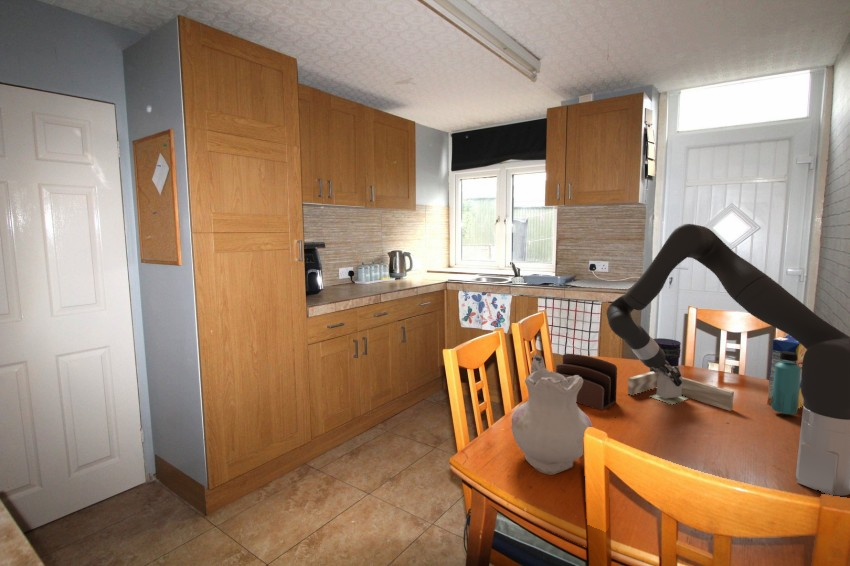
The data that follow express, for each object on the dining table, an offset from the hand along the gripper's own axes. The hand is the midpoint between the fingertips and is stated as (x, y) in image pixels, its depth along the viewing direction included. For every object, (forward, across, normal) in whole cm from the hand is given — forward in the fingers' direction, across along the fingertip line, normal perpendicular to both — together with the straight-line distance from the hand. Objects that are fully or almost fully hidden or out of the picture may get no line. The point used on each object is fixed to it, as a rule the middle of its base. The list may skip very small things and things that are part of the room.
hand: (674, 382), depth 148 cm
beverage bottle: (+19, -21, -11) cm, 30 cm away
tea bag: (+2, 0, +5) cm, 5 cm away
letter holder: (-17, +8, +26) cm, 32 cm away
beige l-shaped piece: (+3, -3, +5) cm, 7 cm away
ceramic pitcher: (-40, -24, +49) cm, 67 cm away
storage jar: (+12, +16, -4) cm, 20 cm away
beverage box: (+26, -15, -18) cm, 35 cm away
